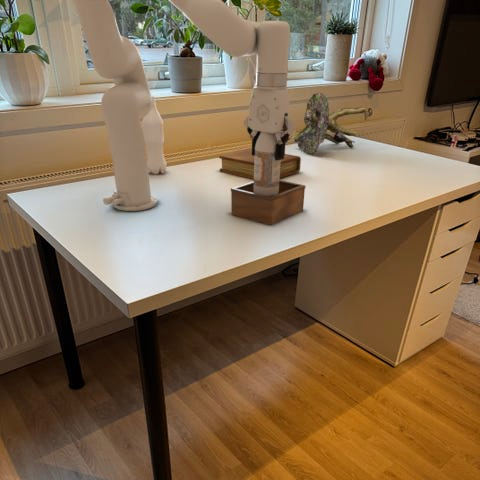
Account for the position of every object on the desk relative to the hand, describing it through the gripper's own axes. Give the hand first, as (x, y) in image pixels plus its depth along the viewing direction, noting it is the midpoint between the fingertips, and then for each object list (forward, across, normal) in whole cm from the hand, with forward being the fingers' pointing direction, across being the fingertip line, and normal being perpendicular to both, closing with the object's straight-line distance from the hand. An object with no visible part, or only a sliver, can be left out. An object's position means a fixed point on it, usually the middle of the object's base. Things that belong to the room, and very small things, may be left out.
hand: (267, 156), depth 119 cm
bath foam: (+10, 0, 0) cm, 10 cm away
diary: (+16, -29, +34) cm, 48 cm away
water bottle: (+16, -57, +9) cm, 60 cm away
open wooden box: (+15, +1, 0) cm, 15 cm away
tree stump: (+15, -33, +85) cm, 93 cm away
